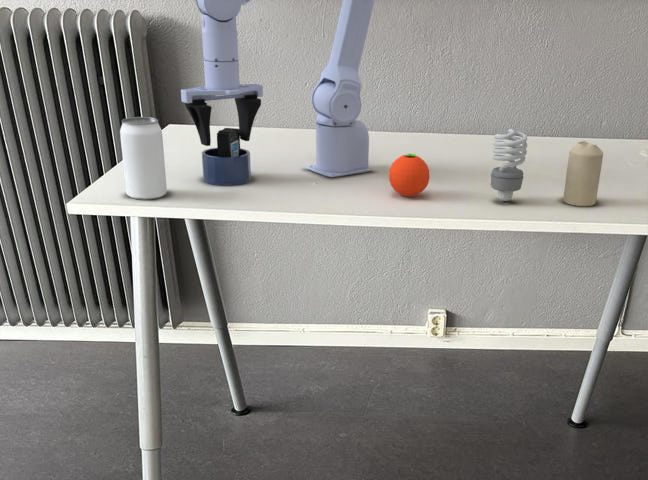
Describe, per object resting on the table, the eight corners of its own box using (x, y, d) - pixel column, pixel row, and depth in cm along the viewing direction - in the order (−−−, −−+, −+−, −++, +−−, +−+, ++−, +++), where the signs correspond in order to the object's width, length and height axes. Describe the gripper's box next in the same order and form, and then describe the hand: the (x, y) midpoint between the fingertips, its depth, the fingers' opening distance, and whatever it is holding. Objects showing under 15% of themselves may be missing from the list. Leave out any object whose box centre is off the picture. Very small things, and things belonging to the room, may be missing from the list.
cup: (235, 171, 153) (234, 145, 151) (259, 181, 147) (258, 154, 145) (195, 177, 148) (193, 150, 146) (217, 187, 142) (216, 159, 140)
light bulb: (511, 208, 137) (519, 134, 132) (481, 202, 140) (488, 129, 134) (527, 201, 141) (535, 129, 136) (497, 195, 144) (504, 124, 139)
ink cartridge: (231, 179, 145) (228, 132, 142) (219, 178, 146) (216, 131, 142) (242, 172, 150) (240, 127, 146) (230, 171, 150) (227, 126, 147)
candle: (602, 204, 141) (611, 144, 137) (577, 208, 138) (586, 147, 134) (580, 196, 145) (588, 138, 141) (556, 199, 143) (563, 140, 138)
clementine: (392, 187, 146) (394, 146, 143) (431, 190, 145) (434, 149, 142) (384, 199, 139) (386, 156, 136) (425, 202, 138) (428, 159, 135)
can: (126, 201, 133) (118, 124, 128) (126, 190, 139) (118, 116, 134) (168, 199, 135) (161, 123, 130) (166, 189, 141) (160, 116, 135)
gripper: (192, 65, 132) (198, 151, 138) (271, 60, 140) (273, 142, 146) (172, 60, 137) (179, 143, 143) (249, 55, 145) (252, 134, 151)
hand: (225, 142), depth 145 cm, fingers open, 7 cm apart
